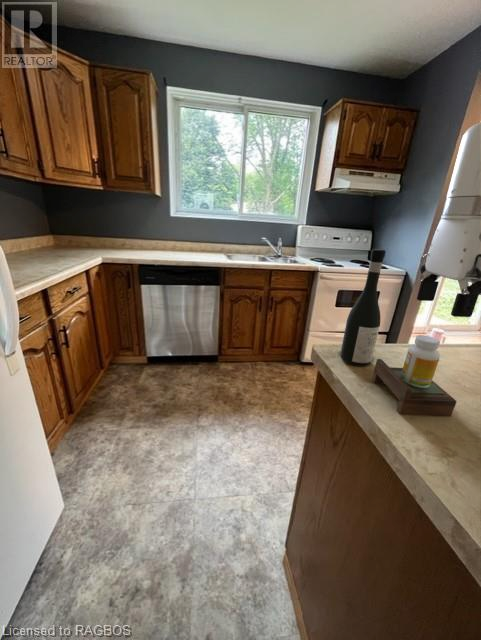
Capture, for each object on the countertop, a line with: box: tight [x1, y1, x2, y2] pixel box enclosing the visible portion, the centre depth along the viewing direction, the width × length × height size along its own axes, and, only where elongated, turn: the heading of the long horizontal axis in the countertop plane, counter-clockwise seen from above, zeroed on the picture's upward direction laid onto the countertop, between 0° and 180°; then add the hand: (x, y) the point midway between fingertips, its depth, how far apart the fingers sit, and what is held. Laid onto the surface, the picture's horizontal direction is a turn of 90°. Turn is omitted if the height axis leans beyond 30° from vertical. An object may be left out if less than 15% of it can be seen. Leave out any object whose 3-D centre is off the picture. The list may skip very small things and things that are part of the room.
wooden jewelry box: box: [370, 358, 458, 418], centre depth 57 cm, size 10×12×7 cm
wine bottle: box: [340, 248, 387, 367], centre depth 70 cm, size 8×8×30 cm
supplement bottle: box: [401, 334, 441, 388], centre depth 55 cm, size 5×5×10 cm
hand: (441, 307), depth 51 cm, fingers open, 9 cm apart
